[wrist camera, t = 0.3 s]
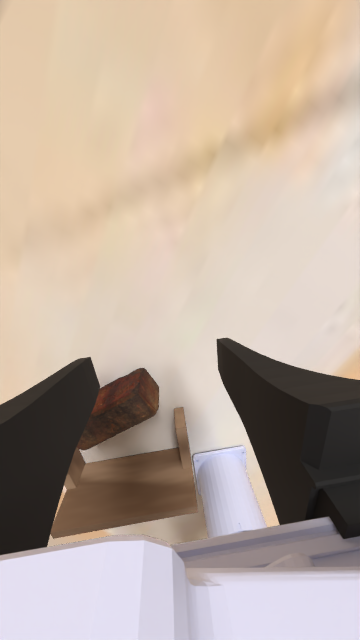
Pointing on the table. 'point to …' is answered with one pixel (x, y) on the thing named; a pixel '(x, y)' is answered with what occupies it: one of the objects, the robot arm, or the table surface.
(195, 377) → the table surface
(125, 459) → the book rack
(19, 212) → the table surface
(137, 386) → the brick
